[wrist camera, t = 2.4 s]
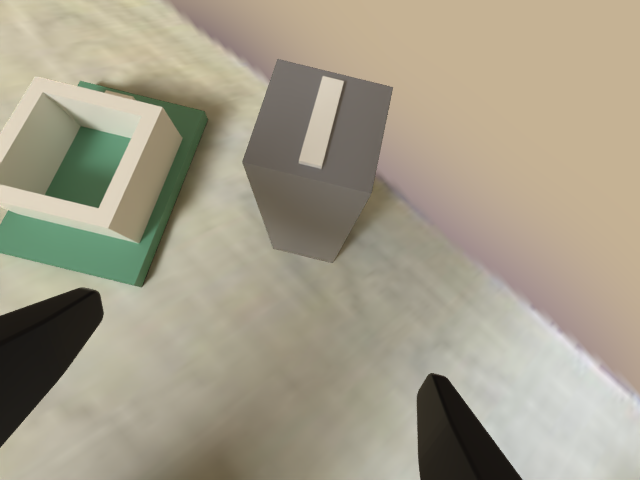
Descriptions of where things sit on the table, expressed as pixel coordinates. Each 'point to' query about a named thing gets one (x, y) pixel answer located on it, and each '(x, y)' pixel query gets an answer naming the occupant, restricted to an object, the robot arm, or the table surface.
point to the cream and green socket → (92, 176)
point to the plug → (315, 156)
